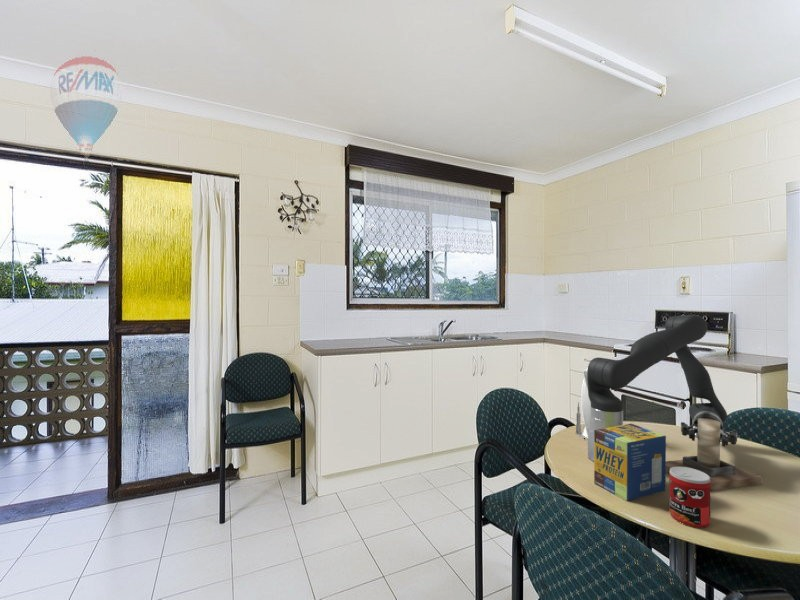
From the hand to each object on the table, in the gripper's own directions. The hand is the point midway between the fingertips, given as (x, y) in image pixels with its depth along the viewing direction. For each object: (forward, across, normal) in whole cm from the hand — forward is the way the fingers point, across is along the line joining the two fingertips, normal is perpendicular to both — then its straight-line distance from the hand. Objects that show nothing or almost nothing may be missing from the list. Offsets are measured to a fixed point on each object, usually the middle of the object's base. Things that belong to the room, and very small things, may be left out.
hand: (708, 440), depth 110 cm
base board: (-2, 0, +11) cm, 12 cm away
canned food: (+28, -4, +12) cm, 31 cm away
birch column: (-2, 0, +9) cm, 9 cm away
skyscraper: (-16, -34, +12) cm, 40 cm away
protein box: (+20, -17, +12) cm, 29 cm away
